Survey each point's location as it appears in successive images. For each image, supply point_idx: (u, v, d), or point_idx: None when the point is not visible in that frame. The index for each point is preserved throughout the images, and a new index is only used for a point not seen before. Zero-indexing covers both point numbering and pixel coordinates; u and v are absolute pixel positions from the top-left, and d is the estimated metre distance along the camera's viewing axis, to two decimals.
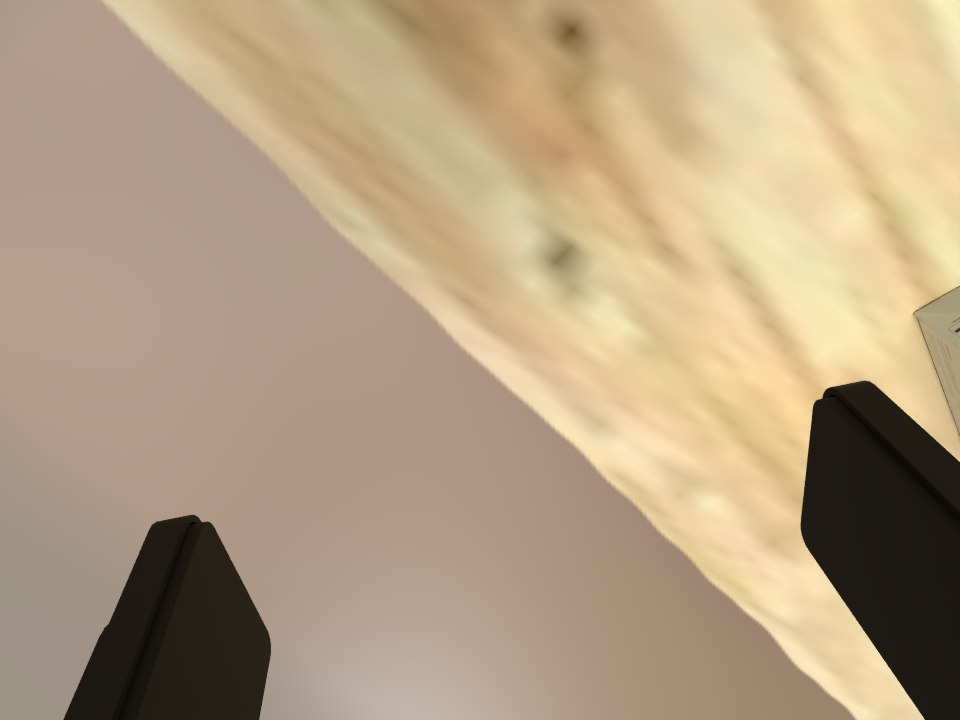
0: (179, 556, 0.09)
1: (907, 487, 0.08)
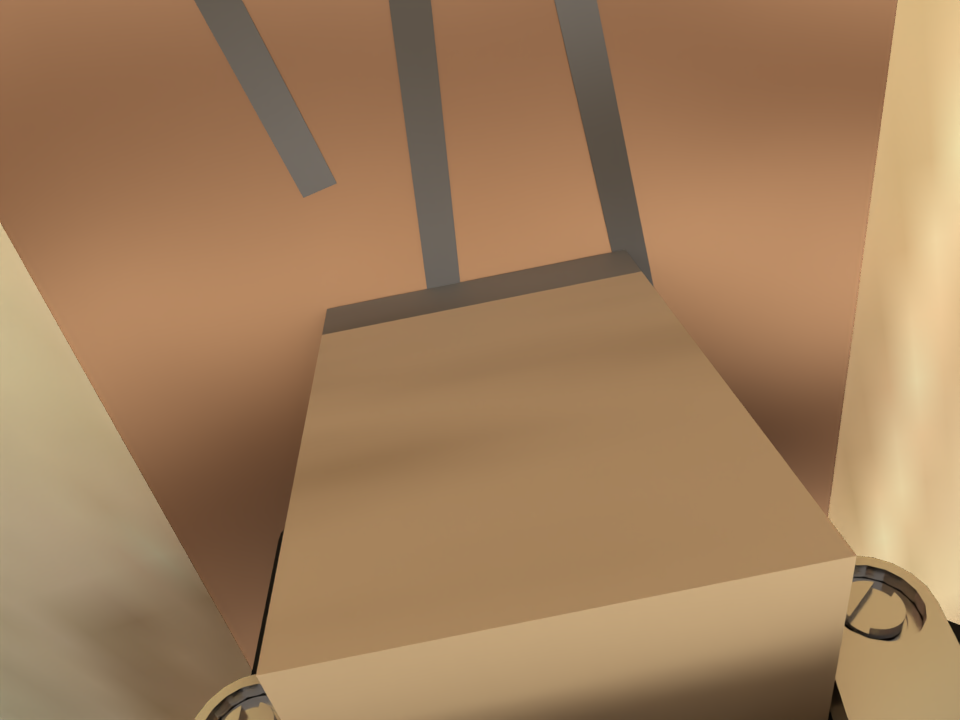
0: None
1: None
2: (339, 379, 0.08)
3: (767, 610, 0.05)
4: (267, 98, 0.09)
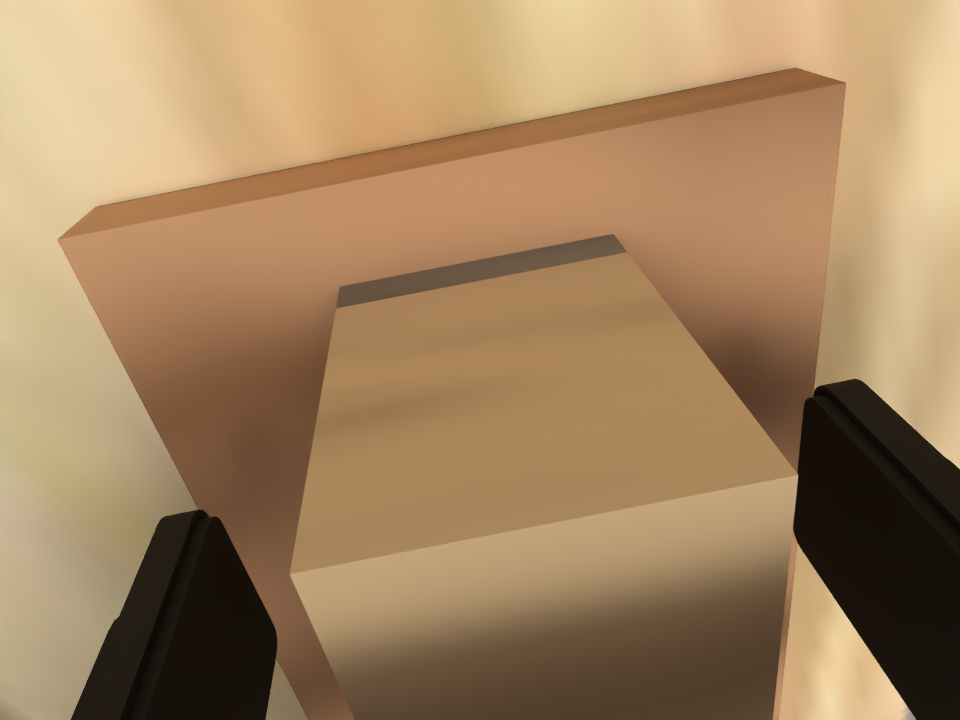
0: (187, 550, 0.09)
1: (895, 484, 0.08)
2: (353, 345, 0.09)
3: (724, 524, 0.06)
4: None
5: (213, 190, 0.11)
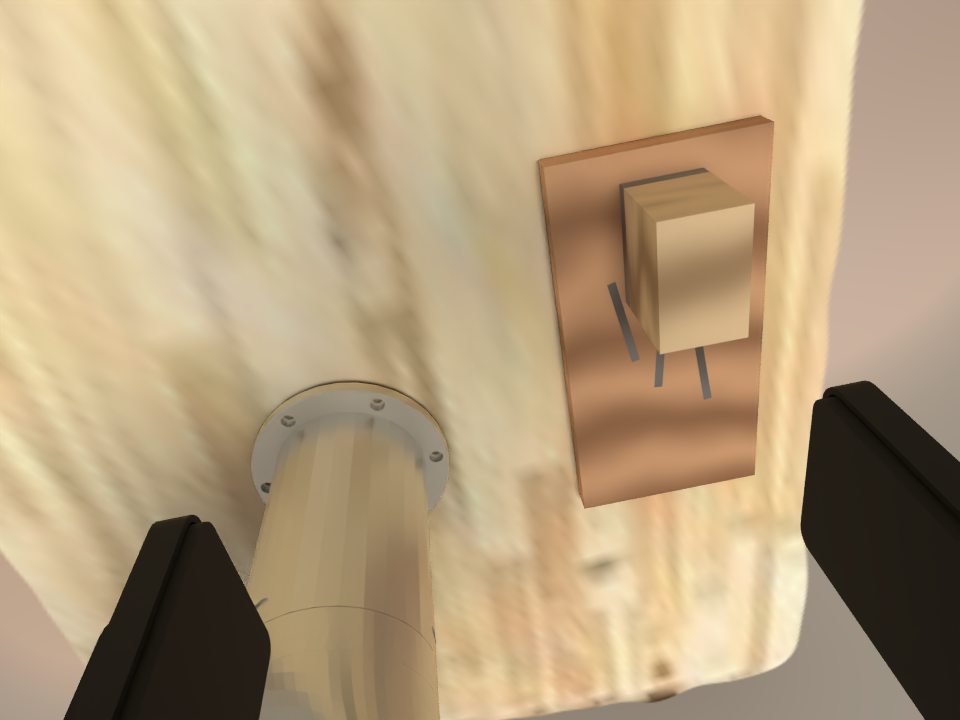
0: (179, 556, 0.09)
1: (907, 487, 0.08)
2: (637, 194, 0.34)
3: (740, 215, 0.31)
4: (630, 344, 0.41)
5: (580, 154, 0.36)
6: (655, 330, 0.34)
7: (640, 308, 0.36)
